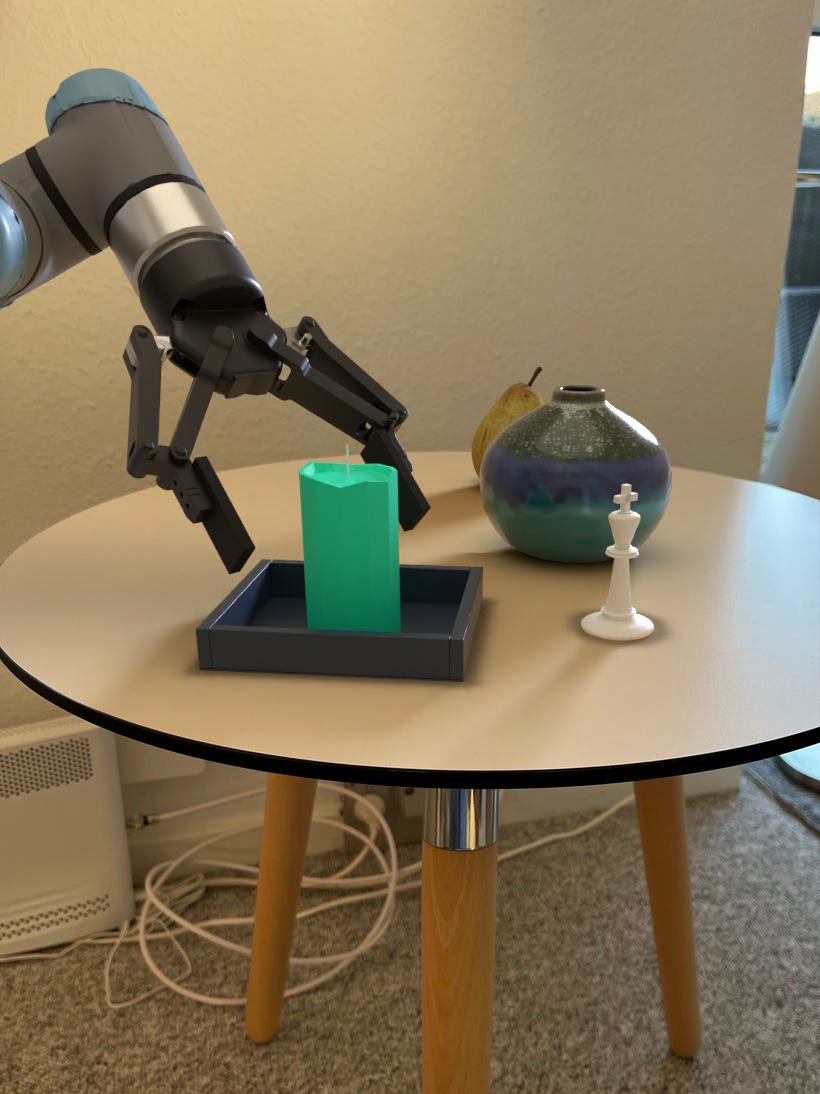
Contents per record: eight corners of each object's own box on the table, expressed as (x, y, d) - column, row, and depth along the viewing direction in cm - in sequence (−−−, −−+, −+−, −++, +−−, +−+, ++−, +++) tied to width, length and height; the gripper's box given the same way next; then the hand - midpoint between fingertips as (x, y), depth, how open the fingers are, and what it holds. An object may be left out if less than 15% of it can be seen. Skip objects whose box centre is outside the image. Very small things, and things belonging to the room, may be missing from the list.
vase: (705, 563, 81) (722, 394, 76) (547, 594, 74) (554, 410, 69) (590, 519, 94) (598, 371, 89) (444, 542, 86) (444, 382, 81)
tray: (199, 677, 60) (194, 628, 59) (264, 600, 72) (261, 558, 71) (463, 689, 59) (463, 639, 57) (482, 608, 71) (483, 566, 70)
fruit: (463, 493, 102) (463, 371, 98) (482, 474, 111) (484, 360, 106) (548, 499, 101) (552, 375, 96) (561, 479, 109) (566, 363, 104)
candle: (287, 636, 64) (275, 447, 60) (346, 609, 69) (339, 432, 65) (362, 656, 61) (355, 459, 57) (419, 626, 66) (416, 442, 62)
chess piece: (563, 630, 67) (570, 482, 64) (617, 615, 70) (626, 472, 66) (616, 653, 64) (626, 498, 60) (670, 636, 67) (683, 487, 63)
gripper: (319, 307, 79) (452, 534, 75) (-11, 324, 62) (134, 615, 58) (360, 235, 73) (505, 474, 69) (10, 231, 57) (172, 545, 53)
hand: (336, 539), depth 64 cm, fingers open, 13 cm apart
